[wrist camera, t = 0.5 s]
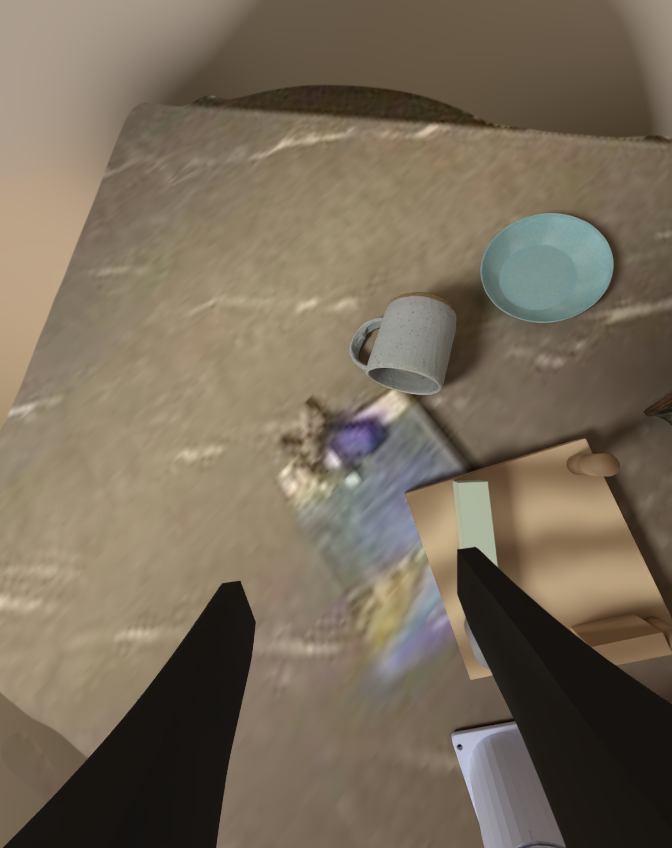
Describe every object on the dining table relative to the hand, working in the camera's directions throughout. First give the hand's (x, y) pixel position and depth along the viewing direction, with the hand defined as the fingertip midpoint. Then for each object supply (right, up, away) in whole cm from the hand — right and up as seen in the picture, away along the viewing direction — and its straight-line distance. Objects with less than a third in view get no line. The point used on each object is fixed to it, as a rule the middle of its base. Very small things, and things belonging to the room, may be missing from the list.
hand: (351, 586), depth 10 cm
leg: (+12, -7, +18) cm, 23 cm away
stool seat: (+17, -7, +20) cm, 27 cm away
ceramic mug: (+7, +13, +25) cm, 29 cm away
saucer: (+21, +21, +23) cm, 37 cm away
